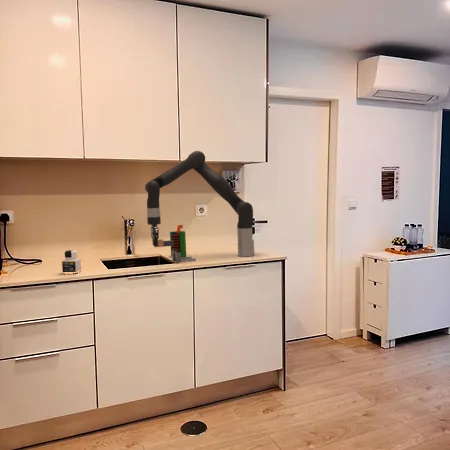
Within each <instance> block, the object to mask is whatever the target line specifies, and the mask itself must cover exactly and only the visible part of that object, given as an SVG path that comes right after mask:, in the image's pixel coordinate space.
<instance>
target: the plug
mask: <svg viewBox="0 0 450 450" xmlns="http://www.w3.org/2000/svg"><path fill="white" fill-rule="evenodd" d="M153 241H154V240H153ZM171 246H174V244H173V240H164V239H163V238H160V239H158V246H154V245H153V247H154V248H164V247H171Z"/></svg>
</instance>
